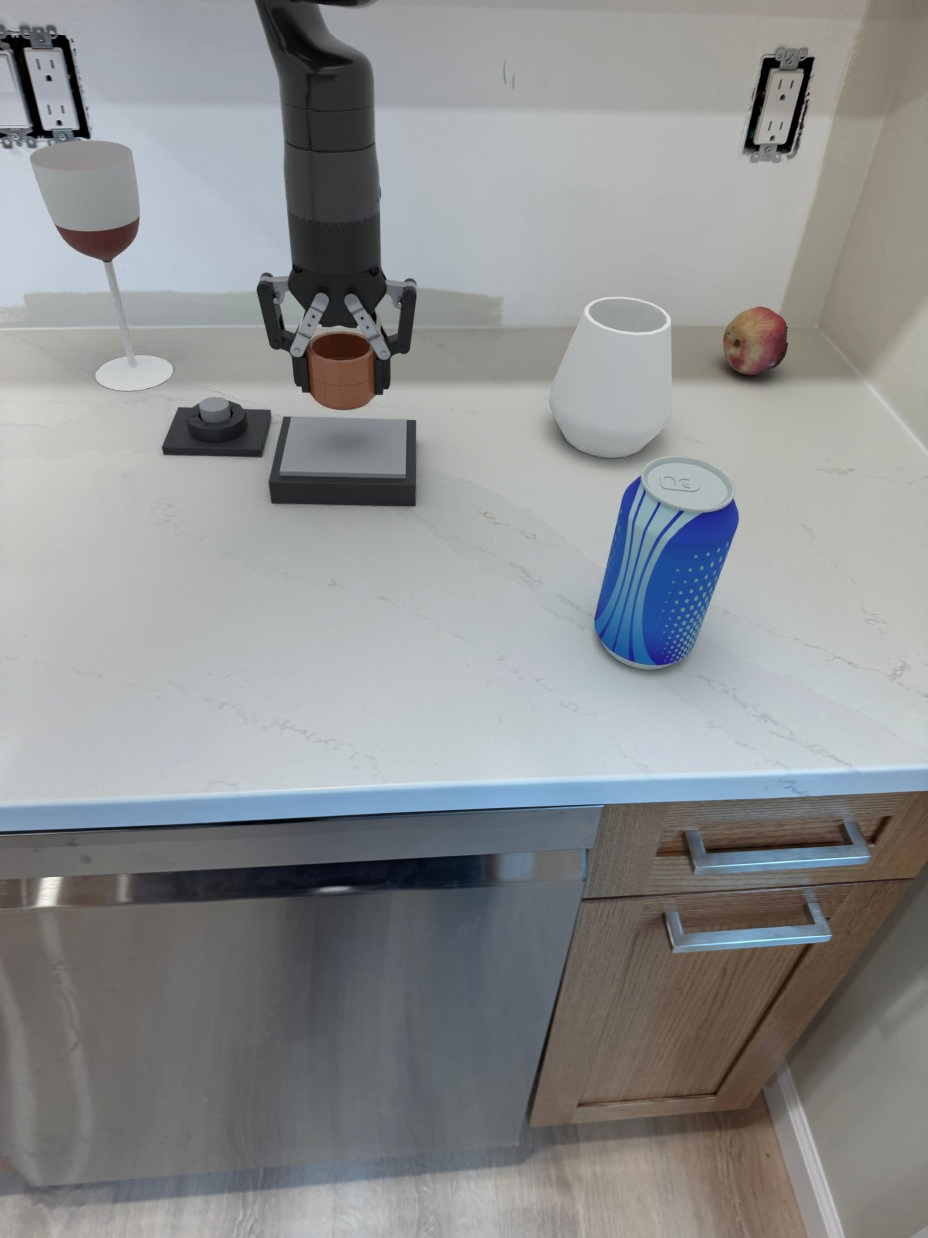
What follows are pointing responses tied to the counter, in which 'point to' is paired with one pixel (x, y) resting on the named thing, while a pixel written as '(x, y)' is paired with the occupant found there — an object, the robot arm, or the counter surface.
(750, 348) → the fruit
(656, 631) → the beer can
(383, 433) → the scale
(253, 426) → the block
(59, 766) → the counter surface
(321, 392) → the copper hollow cylinder
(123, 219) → the wineglass
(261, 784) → the counter surface
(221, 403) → the button
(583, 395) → the cup
